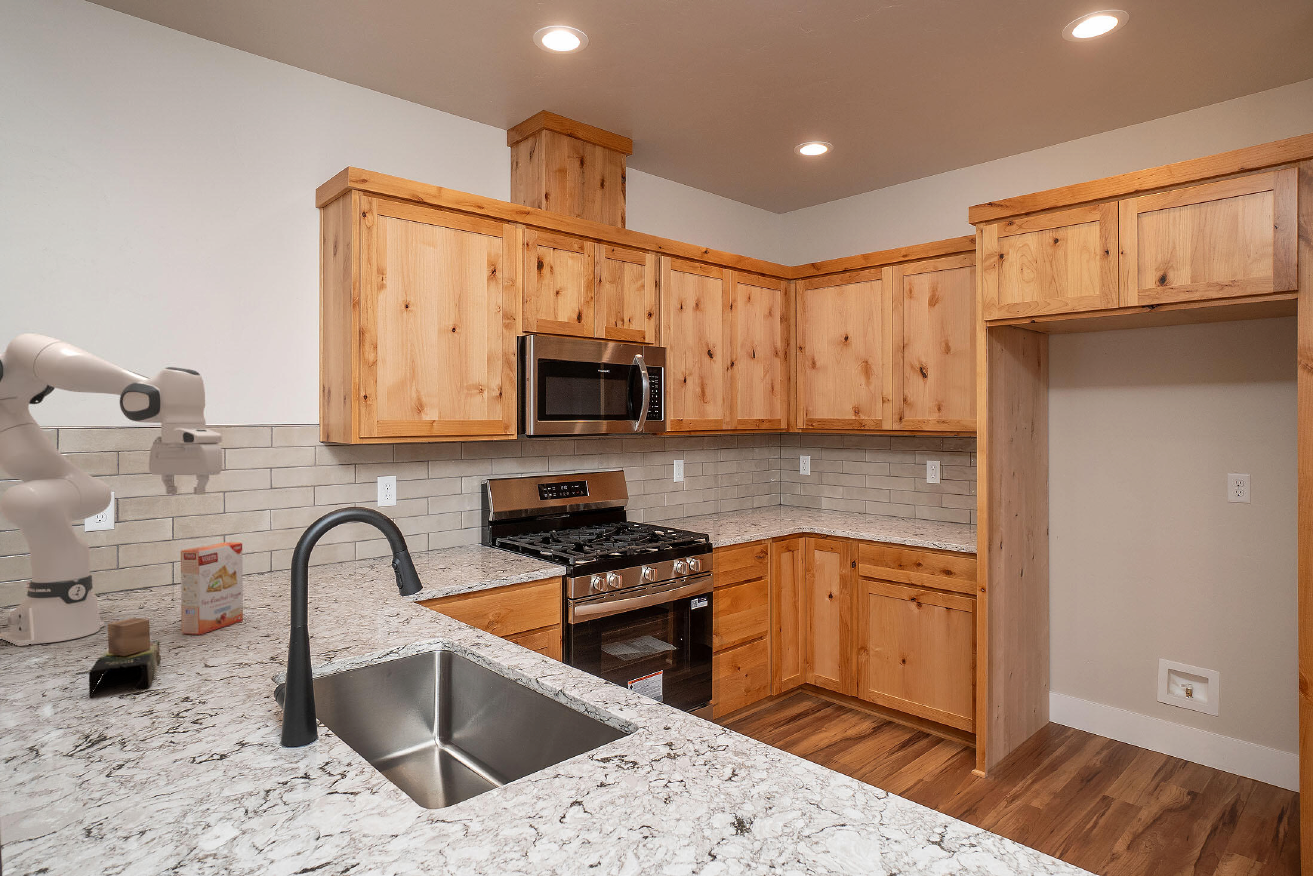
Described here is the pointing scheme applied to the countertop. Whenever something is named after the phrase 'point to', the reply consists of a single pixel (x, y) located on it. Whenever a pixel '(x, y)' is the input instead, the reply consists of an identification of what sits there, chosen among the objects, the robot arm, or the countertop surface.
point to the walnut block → (128, 636)
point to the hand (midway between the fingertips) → (185, 494)
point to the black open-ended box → (127, 665)
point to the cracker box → (211, 587)
